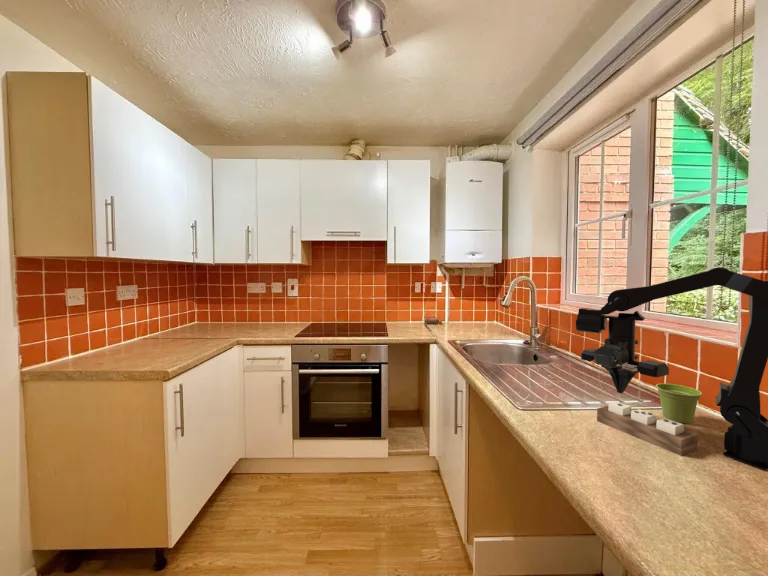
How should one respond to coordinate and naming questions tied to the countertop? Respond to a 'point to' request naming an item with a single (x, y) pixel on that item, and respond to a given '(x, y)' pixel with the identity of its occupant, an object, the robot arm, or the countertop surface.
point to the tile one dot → (619, 408)
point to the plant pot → (678, 402)
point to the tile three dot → (643, 417)
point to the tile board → (649, 432)
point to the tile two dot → (670, 426)
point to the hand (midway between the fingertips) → (620, 392)
